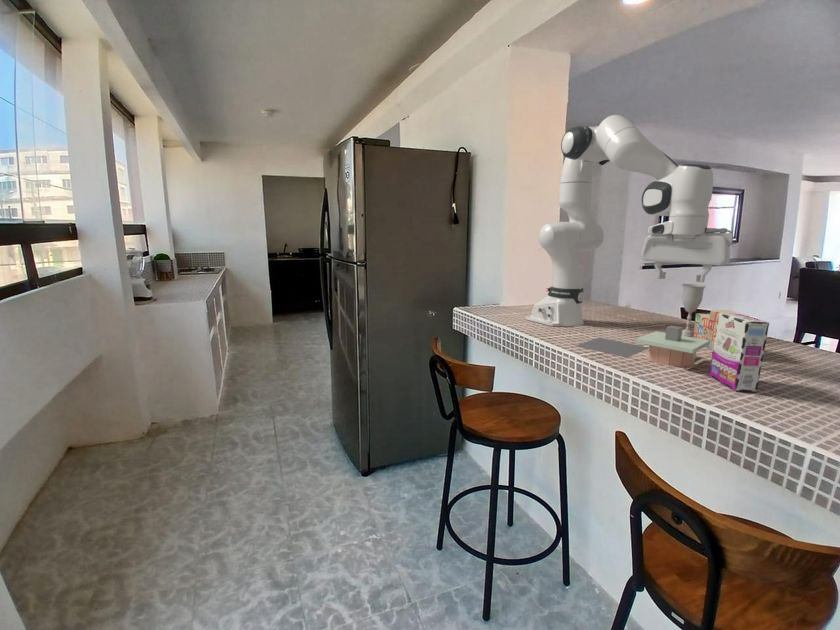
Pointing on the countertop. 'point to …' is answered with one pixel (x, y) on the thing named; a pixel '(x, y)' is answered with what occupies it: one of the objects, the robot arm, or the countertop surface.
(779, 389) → the countertop surface
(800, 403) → the countertop surface
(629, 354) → the mat
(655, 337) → the lid
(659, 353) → the bowl
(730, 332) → the candy bar box
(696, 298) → the chalice
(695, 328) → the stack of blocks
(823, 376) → the countertop surface
